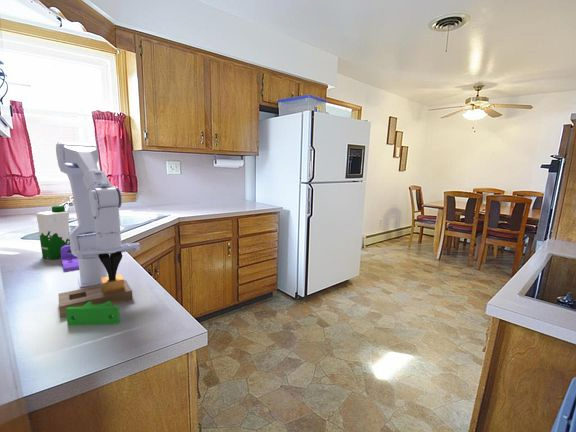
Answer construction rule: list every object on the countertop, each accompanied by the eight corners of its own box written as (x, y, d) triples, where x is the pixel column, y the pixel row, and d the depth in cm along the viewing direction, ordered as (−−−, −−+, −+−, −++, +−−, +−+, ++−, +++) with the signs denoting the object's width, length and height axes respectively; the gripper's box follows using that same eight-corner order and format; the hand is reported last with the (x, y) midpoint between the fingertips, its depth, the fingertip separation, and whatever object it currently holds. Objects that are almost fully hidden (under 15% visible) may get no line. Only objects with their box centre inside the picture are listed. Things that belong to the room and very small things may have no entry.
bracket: (62, 263, 108) (60, 245, 107) (84, 259, 113) (82, 243, 111) (64, 272, 99) (61, 253, 98) (87, 268, 104) (86, 250, 102)
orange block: (102, 296, 81) (100, 277, 80) (122, 292, 84) (120, 273, 83) (104, 303, 77) (102, 283, 76) (125, 298, 80) (123, 279, 79)
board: (59, 304, 77) (58, 293, 76) (126, 289, 87) (125, 280, 86) (60, 318, 70) (58, 306, 69) (132, 300, 80) (132, 290, 79)
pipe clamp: (125, 317, 72) (123, 300, 71) (117, 325, 68) (116, 307, 67) (77, 318, 70) (75, 301, 70) (67, 326, 67) (65, 308, 66)
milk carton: (76, 254, 118) (71, 206, 114) (50, 260, 109) (44, 209, 106) (63, 251, 121) (58, 205, 118) (38, 257, 113) (31, 207, 110)
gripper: (76, 238, 70) (81, 290, 72) (140, 231, 79) (143, 277, 81) (74, 232, 75) (79, 281, 78) (135, 226, 84) (138, 270, 87)
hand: (112, 278), depth 80 cm, fingers closed, pressing on orange block
